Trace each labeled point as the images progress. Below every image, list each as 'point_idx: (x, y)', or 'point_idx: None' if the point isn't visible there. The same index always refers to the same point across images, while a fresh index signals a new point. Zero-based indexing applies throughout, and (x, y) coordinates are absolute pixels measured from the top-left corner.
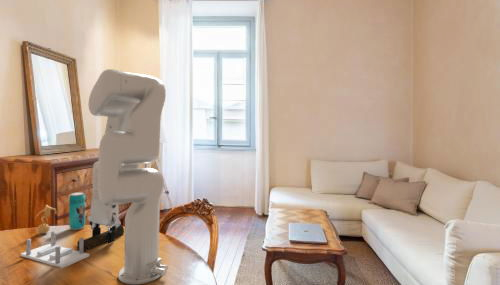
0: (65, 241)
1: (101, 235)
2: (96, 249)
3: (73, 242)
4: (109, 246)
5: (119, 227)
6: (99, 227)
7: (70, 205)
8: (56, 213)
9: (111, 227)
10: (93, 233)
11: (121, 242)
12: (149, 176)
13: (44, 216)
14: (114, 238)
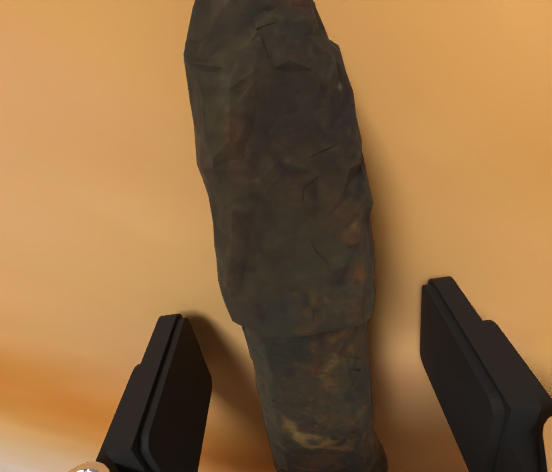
0: (14, 460)
1: (361, 455)
2: (415, 423)
3: (87, 443)
4: None
5: (361, 152)
6: (118, 457)
7: None
8: None
9: (237, 303)
10: (192, 465)
11: (532, 216)
12: None
13: None
14: (494, 323)
